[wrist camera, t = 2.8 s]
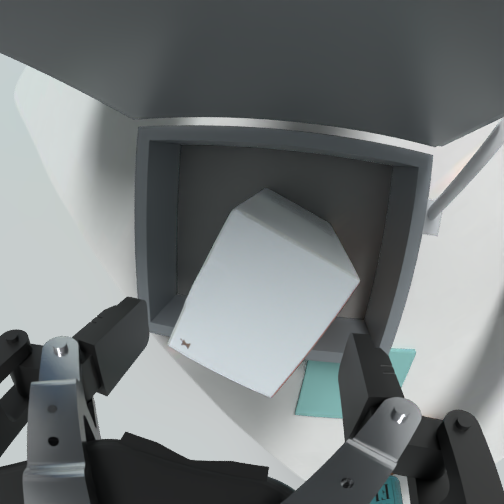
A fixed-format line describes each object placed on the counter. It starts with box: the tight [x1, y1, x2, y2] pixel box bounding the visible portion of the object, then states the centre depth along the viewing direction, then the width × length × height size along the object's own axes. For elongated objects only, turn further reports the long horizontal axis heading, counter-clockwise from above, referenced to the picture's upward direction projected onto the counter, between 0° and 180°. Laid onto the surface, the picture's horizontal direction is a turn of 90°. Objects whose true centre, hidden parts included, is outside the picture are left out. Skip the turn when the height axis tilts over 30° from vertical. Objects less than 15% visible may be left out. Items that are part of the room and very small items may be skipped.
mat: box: [295, 348, 416, 418], centre depth 28 cm, size 11×10×1 cm
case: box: [135, 117, 504, 363], centre depth 18 cm, size 22×19×14 cm
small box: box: [168, 188, 360, 398], centre depth 19 cm, size 8×6×13 cm
